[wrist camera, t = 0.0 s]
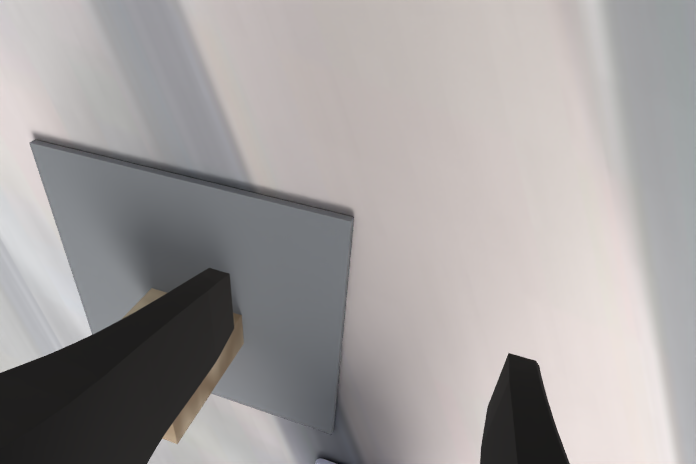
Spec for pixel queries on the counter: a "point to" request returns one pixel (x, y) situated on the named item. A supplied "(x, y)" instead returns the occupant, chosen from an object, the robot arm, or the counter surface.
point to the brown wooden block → (210, 380)
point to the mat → (217, 253)
